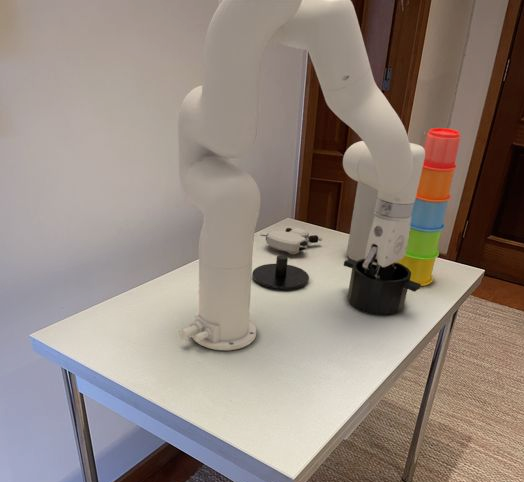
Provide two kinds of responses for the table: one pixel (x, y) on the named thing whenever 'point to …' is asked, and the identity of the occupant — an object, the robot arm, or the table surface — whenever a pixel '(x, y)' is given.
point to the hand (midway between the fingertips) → (377, 288)
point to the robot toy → (290, 240)
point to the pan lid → (280, 275)
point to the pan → (378, 289)
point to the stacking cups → (431, 203)
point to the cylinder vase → (361, 221)
